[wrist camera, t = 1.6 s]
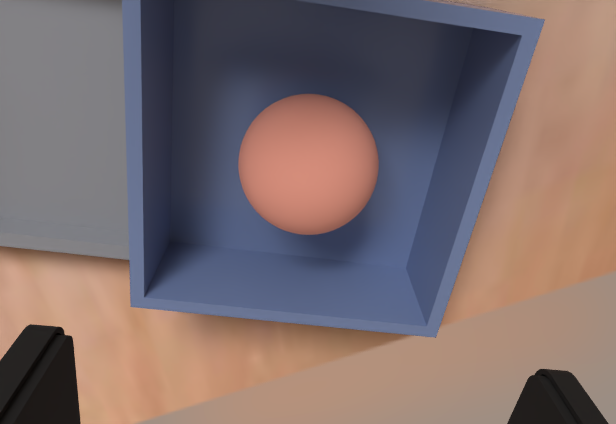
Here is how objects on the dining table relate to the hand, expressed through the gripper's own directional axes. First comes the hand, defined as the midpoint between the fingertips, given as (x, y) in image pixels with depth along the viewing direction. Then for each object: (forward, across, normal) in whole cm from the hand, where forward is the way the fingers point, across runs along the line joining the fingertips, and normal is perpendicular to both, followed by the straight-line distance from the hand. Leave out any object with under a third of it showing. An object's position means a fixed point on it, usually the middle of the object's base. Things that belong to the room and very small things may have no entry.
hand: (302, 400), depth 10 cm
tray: (+16, +12, -1) cm, 20 cm away
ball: (+12, 0, -1) cm, 12 cm away
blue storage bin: (+16, 0, -1) cm, 16 cm away
